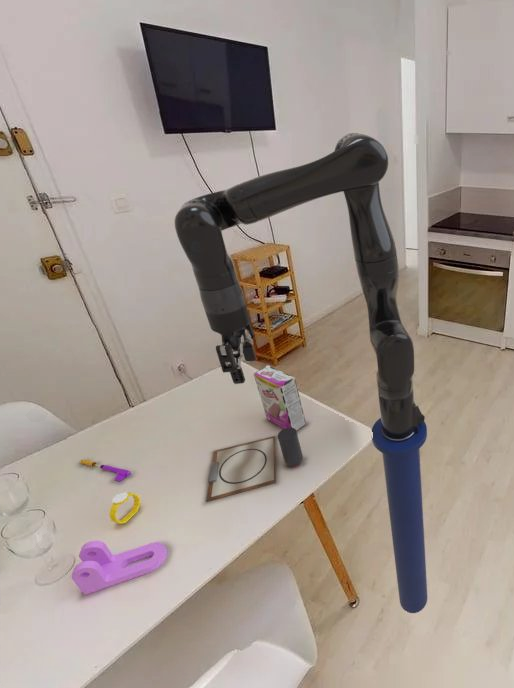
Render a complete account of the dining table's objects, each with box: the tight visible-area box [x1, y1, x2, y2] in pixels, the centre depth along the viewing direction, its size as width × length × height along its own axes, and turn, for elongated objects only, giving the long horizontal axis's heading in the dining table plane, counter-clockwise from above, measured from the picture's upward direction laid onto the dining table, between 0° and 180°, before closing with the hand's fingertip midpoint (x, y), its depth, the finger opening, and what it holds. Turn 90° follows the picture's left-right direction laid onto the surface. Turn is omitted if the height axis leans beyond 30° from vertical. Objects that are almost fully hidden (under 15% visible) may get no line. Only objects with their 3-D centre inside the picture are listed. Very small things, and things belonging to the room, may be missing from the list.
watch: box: [109, 492, 141, 525], centre depth 88 cm, size 6×3×6 cm, turn 169°
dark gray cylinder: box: [277, 428, 304, 468], centre depth 99 cm, size 4×4×10 cm
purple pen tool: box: [79, 459, 131, 482], centre depth 100 cm, size 3×1×16 cm
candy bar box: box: [253, 364, 307, 431], centre depth 110 cm, size 11×5×16 cm, turn 58°
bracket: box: [70, 540, 168, 596], centre depth 78 cm, size 13×6×7 cm, turn 112°
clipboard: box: [205, 435, 277, 503], centre depth 100 cm, size 15×16×1 cm
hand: (245, 370), depth 89 cm, fingers open, 8 cm apart
